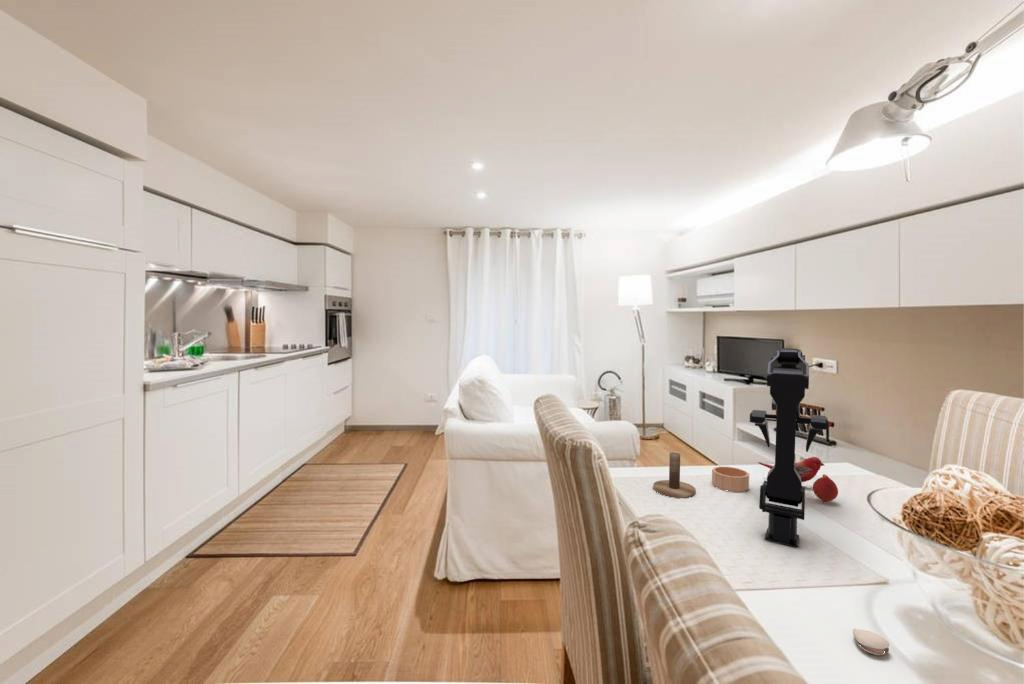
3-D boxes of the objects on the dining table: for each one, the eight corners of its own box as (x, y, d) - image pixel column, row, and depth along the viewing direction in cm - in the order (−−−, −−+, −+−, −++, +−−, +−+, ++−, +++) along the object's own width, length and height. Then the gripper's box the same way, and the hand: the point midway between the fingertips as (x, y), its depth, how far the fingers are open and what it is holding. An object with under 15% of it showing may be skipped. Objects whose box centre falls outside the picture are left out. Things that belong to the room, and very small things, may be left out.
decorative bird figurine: (824, 492, 134) (826, 459, 134) (757, 483, 142) (758, 451, 141) (823, 489, 137) (824, 456, 136) (756, 480, 144) (757, 449, 144)
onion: (829, 498, 129) (830, 471, 129) (842, 507, 124) (843, 478, 123) (808, 498, 130) (809, 470, 130) (819, 506, 124) (820, 477, 124)
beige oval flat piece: (871, 661, 67) (872, 645, 67) (841, 638, 72) (842, 623, 72) (895, 657, 68) (896, 641, 68) (864, 635, 73) (864, 619, 73)
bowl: (745, 494, 132) (746, 479, 132) (709, 487, 138) (709, 472, 138) (750, 484, 140) (751, 470, 140) (715, 478, 146) (716, 464, 146)
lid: (689, 502, 127) (690, 462, 126) (647, 492, 134) (648, 455, 133) (700, 489, 136) (700, 452, 136) (660, 481, 143) (660, 446, 143)
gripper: (827, 392, 129) (826, 446, 130) (753, 388, 139) (753, 438, 140) (828, 399, 120) (827, 457, 121) (749, 394, 130) (749, 447, 131)
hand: (787, 449), depth 128 cm, fingers open, 9 cm apart
